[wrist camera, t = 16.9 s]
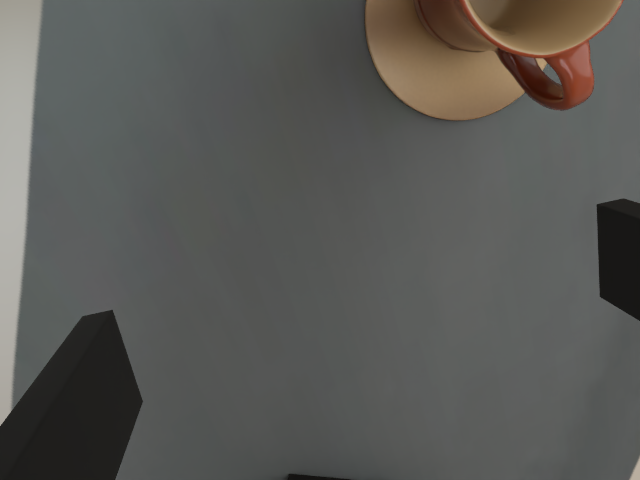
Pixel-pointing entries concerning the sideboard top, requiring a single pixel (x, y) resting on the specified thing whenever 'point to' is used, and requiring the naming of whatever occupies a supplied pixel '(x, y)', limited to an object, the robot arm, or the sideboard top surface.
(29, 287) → the sideboard top surface
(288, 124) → the sideboard top surface
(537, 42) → the mug
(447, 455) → the sideboard top surface
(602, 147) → the sideboard top surface
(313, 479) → the lamp
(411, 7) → the tan round disc
